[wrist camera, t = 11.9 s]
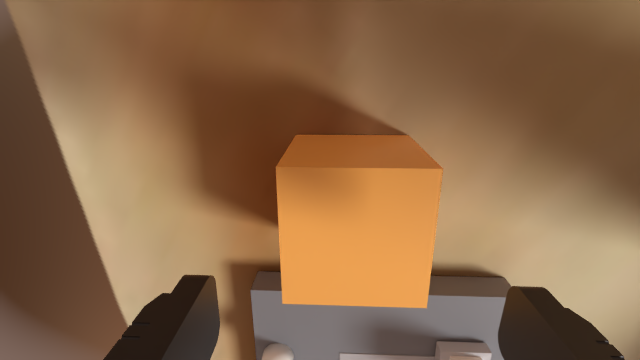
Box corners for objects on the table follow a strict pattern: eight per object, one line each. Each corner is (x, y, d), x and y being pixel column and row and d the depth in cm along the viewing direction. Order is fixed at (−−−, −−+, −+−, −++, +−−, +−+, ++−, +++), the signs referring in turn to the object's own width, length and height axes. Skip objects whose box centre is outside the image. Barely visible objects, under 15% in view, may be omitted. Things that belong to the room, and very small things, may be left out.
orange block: (408, 135, 19) (443, 168, 13) (400, 236, 21) (427, 308, 15) (295, 134, 19) (275, 167, 13) (298, 234, 21) (282, 303, 15)
